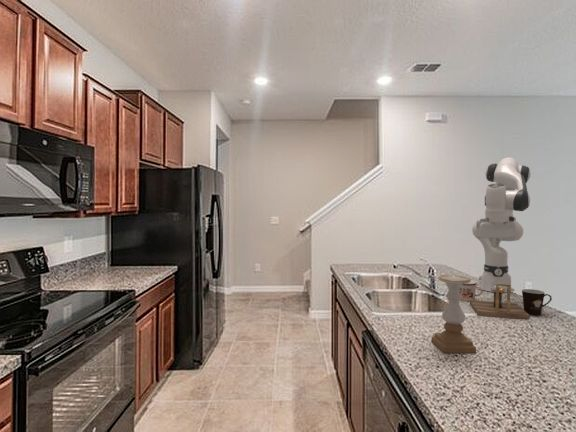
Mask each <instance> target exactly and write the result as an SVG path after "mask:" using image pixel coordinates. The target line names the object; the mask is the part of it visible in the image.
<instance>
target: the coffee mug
mask: <svg viewBox="0 0 576 432" xmlns="http://www.w3.org/2000/svg"><path fill="white" fill-rule="evenodd" d="M521 293H522V294H521V295H522V296H521V297H522V303H523V306H522V307H523V310H524V311H526V312H527V313H528V314H529V316H541V315H542V310H543V307H545V306H547V305H549V303H550V302H551V301H552V295H550V294H548V293H546V292H545V291H543V290H540V289H532V288H530V289H529V288H527V289H525V288H524V289H521ZM546 296H548V297H549V300H548V301H547V302H546V303H544V300H545V299H544V298H545V297H546Z"/></svg>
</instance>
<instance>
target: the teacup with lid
mask: <svg viewBox="0 0 576 432" xmlns="http://www.w3.org/2000/svg"><path fill="white" fill-rule="evenodd" d="M464 277H467V276H464ZM477 288H480V289H479V290H480V292H479V293H478V294H476V289H477ZM460 294H461V296H462V298H461V300H460V302H461V301H463V302H470V300H476V297H479V296H481V295H482V294H483V290H482V288H481V287H479V286H478V285H477V282H476V281H474V280H472V279H471V281H470V283H465V284H463V285H462V287H461V288H460Z"/></svg>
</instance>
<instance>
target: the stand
mask: <svg viewBox="0 0 576 432" xmlns="http://www.w3.org/2000/svg"><path fill="white" fill-rule="evenodd" d="M499 286H507V292H506V302H504V301H503V299H502V298H503V297H502V295H503V293H500V292H499ZM510 287H511V288H512V284H511V285H510V284H496V292H493V301H489V300H476V299H475V300H470V301H469V305H470V307H471V306H472V307H471V308H472V310H473V309H474V310H475V311H474V310H473V311H474V313H475V312H476V313H477V314H476V313H475V314H476V315H477V316H479V317H490V318H502V319H503V318H505V319H515V320H516V319H517V320H518V319H519V320H530V315H529V314H528V313H527V312H526V311H524V308H522V307H521V306H520V305H519V304H517V302H511V292H510Z"/></svg>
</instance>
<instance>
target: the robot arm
mask: <svg viewBox="0 0 576 432" xmlns="http://www.w3.org/2000/svg"><path fill="white" fill-rule="evenodd" d="M517 161H518V160H516V159H515V158H513V157H509V156H508V157H504V158H502V159H501V160H500V161H499V162H498V163H491V164H489V165H488V166H487V168H486V170H485V178H486V180H487V181H488V182H490V184H488V185H487V187H486V191H485V195H484V206H485V212H484V214H485V215H484V216H485V218H479V219H478V220H477V221H475V223H474V224H473V226H472V229H471V230H472V234H473V236H474V237H475V238H476V239H477V240H478V241H479V242H480V244H482V247H483V249H484V264H483V270H484V271H483V273H482V274H481V275H479V276H478V281H479V282H477V286H479V287H481V288H482V291H486V292H492V293H494V291H491V285H492V284H491V283H492V282H495V283H496V284H510V285H511V287H510V293H511V292H515V289H514V288H513V287H512V276H511V275H510V274H509V265H508V257H509V256H508V251H507V250H506V249H505V248H503V247H502V246H500V244H501V242H516V241H520V240H521V238H522V237H523V235H524V228H523V225H522V224H521V223H519V222H518V221H517V218H516V216H514V214H513V211H516V212H524V211H525V210H527V209H529V207H530V205H531V198H530V195H529V192H528V187H527V183H528V181H530V177H531V171H530V168H529V166H526V165H523V164H522V165H519V163H518V162H517ZM476 289H477V290H481V289H480V288H476ZM504 293H507V286H505V292H503V293H502V294H504Z"/></svg>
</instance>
